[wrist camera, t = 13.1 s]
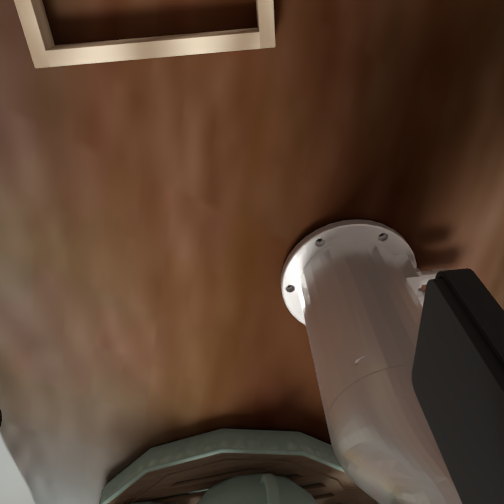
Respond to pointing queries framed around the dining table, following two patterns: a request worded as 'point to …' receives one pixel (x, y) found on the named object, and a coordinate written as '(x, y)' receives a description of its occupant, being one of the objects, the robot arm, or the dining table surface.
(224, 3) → the dining table surface
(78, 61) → the frame
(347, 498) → the tea set
